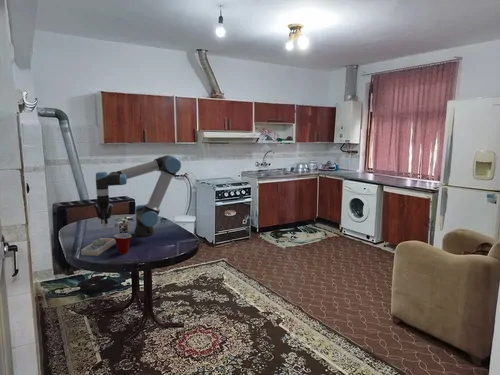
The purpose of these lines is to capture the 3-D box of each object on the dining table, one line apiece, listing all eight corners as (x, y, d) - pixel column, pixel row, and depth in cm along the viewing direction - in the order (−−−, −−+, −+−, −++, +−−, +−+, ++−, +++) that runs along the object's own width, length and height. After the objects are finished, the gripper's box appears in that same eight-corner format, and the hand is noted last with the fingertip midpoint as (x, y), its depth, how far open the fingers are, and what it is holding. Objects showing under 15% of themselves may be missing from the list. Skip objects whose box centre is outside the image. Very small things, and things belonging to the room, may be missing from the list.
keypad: (116, 243, 244) (115, 238, 243) (97, 255, 219) (97, 250, 218) (101, 242, 244) (100, 237, 244) (81, 254, 220) (80, 249, 219)
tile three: (99, 249, 226) (99, 245, 226) (95, 252, 220) (94, 249, 220) (91, 249, 227) (90, 245, 226) (86, 252, 221) (85, 248, 220)
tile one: (111, 241, 242) (111, 238, 242) (107, 244, 236) (107, 241, 236) (103, 241, 242) (103, 238, 242) (98, 244, 237) (98, 240, 236)
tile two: (105, 242, 234) (105, 239, 233) (101, 245, 228) (101, 241, 228) (97, 242, 234) (97, 238, 234) (92, 244, 228) (92, 241, 228)
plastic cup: (135, 252, 226) (134, 235, 224) (120, 256, 218) (119, 238, 216) (126, 248, 233) (126, 231, 231) (111, 252, 225) (110, 235, 223)
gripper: (114, 194, 237) (116, 227, 241) (96, 193, 238) (98, 226, 242) (109, 196, 230) (111, 230, 234) (90, 195, 231) (92, 229, 235)
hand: (104, 228), depth 238 cm, fingers closed
